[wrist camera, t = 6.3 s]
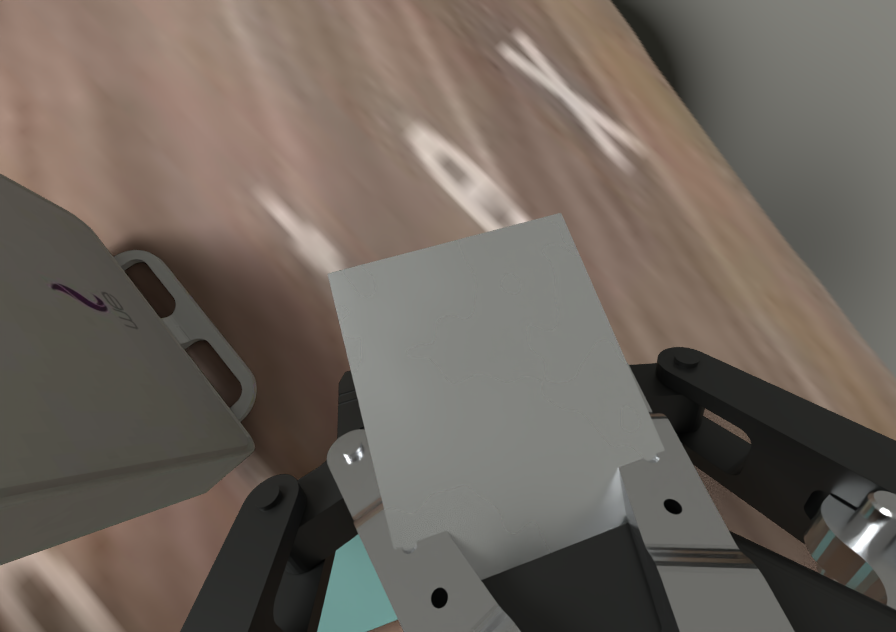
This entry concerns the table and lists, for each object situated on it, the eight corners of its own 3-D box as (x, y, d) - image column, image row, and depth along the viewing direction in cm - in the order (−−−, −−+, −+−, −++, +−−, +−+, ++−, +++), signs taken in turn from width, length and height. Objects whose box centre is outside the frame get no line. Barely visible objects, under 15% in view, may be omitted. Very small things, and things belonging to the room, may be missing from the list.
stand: (431, 591, 26) (431, 606, 24) (294, 644, 25) (282, 664, 23) (395, 452, 28) (393, 455, 26) (268, 494, 27) (256, 501, 25)
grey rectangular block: (525, 448, 17) (691, 509, 6) (423, 484, 16) (410, 621, 5) (484, 330, 18) (560, 212, 8) (389, 358, 18) (327, 273, 7)
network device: (296, 427, 28) (8, 459, 9) (201, 510, 27) (-409, 769, 7) (127, 216, 33) (-313, -66, 13) (35, 275, 31) (-629, 46, 12)
